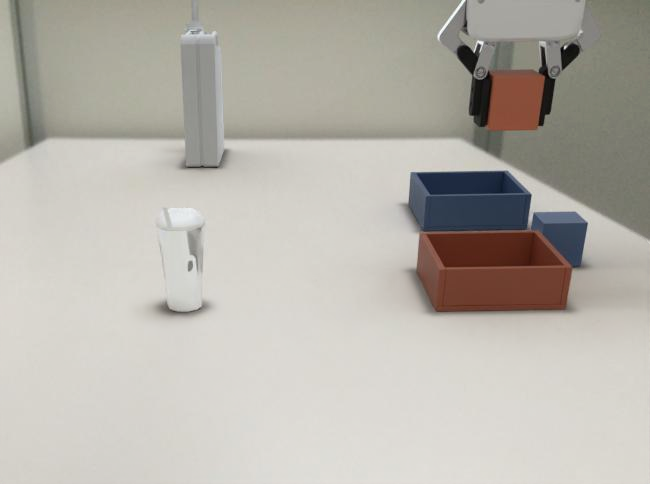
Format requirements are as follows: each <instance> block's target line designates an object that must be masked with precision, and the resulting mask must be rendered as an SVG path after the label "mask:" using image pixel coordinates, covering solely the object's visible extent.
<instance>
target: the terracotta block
mask: <svg viewBox="0 0 650 484" xmlns="http://www.w3.org/2000/svg"><path fill="white" fill-rule="evenodd" d="M488 71H489V72H490V73H489V79H490V80H491V81H492V87H491V95H490V104H489V113H488V122H487V125H485V127H484V128H485V129H486V130H487V131H488V132H497V131H498V132H501V131H503V132H505V131H506V132H507V131H538V130H539V126H538V123H539V116H540V109H541V102H542V94H543V87H544V80H545V76H543V75H542V74H540V73H538V72H539V71H537V70H534V69H533V68H531V69H529V68H527V69H526V68H525V69H523V68H522V69H489V70H488Z"/></svg>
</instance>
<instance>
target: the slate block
mask: <svg viewBox="0 0 650 484" xmlns="http://www.w3.org/2000/svg"><path fill="white" fill-rule="evenodd" d="M588 226H589V222H588V221H586V220H585V218H583V217H582V216H581V214H579V213H578V212H577V211H576V210H575V211H533V212H532V220H531V226H530V231H534V230H539V231H540V232H541V233H542V235H543V236H544V237H545V238H546V239H547V240H548V241H549V242H550V243H551V244H552V245H553V246H554V248H555V249H556V250H557V251H558V252H559V253H560V254H561V255H562V256H563V257H564V258H565V259H566V261H567V262H568V263H569V264H570V265H571V266H572V267H581V266H582V260H583V254H584V249H585V242H586V238H587V232H588Z"/></svg>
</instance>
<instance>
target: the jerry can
mask: <svg viewBox="0 0 650 484" xmlns="http://www.w3.org/2000/svg"><path fill="white" fill-rule="evenodd" d="M190 3H191V6H190V7H191V21H189V22H188V23H186V24H185V25H186V26H185V28H184V33H185V34H181V36H180V41H179V42H180V64H181V85H182V87H181V88H182V104H183V105H182V107H183V109H182V110H183V126H184V129H183V130H184V146H185V147H184V148H185V165H186V167H187V168H195V167H196V168H201V167H204V168H208V167H209V168H211V167H212V168H216V167H219V166H220V163H221V160H222V157H223V156H224V155H223V154H224V152H225V123H224V121H225V120H224V91H223V54H222V50H221V46H220V45H219V37H218V31H216V30H213V31H212V32H210V33H207V32H205V31H204V27H203V23H201V22H200V21H199V18H200V17H199V15H200V14H199V0H191V2H190Z"/></svg>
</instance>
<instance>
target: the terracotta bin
mask: <svg viewBox="0 0 650 484" xmlns="http://www.w3.org/2000/svg"><path fill="white" fill-rule="evenodd" d="M417 246H418V247H417V248H418V249H417V257H416V258H417V260H416V269H415V271H416V273H417V275H418V277H419V279H420V281H421V284H422V285H423V288H424V289H425V292H426V293H427V296H428V298H429V300H430V302H431V304H432V306H433V309H434V310H435V312H471V311H472V312H473V311H474V312H478V311H482V312H483V311H532V310H533V311H539V310H566V309H567V303H568V297H569V292H570V285H571V280H572V274H573V267H574V266H571V265H570V264H569V263H568V262H567V261H566V259H565V258H564V257H563V256H562V255H561V254H560V253H559V252H558V251H557V250H556V249H555V248H554V246H553V245H552V244H551V243H550V242H549V241H548V240H547V239H546V238H545V237H544V236H543V235H542V233H541V232H540V231H539V230H534V231H531V230H477V231H423V232H422V231H421V232H419V235H418V245H417Z"/></svg>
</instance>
